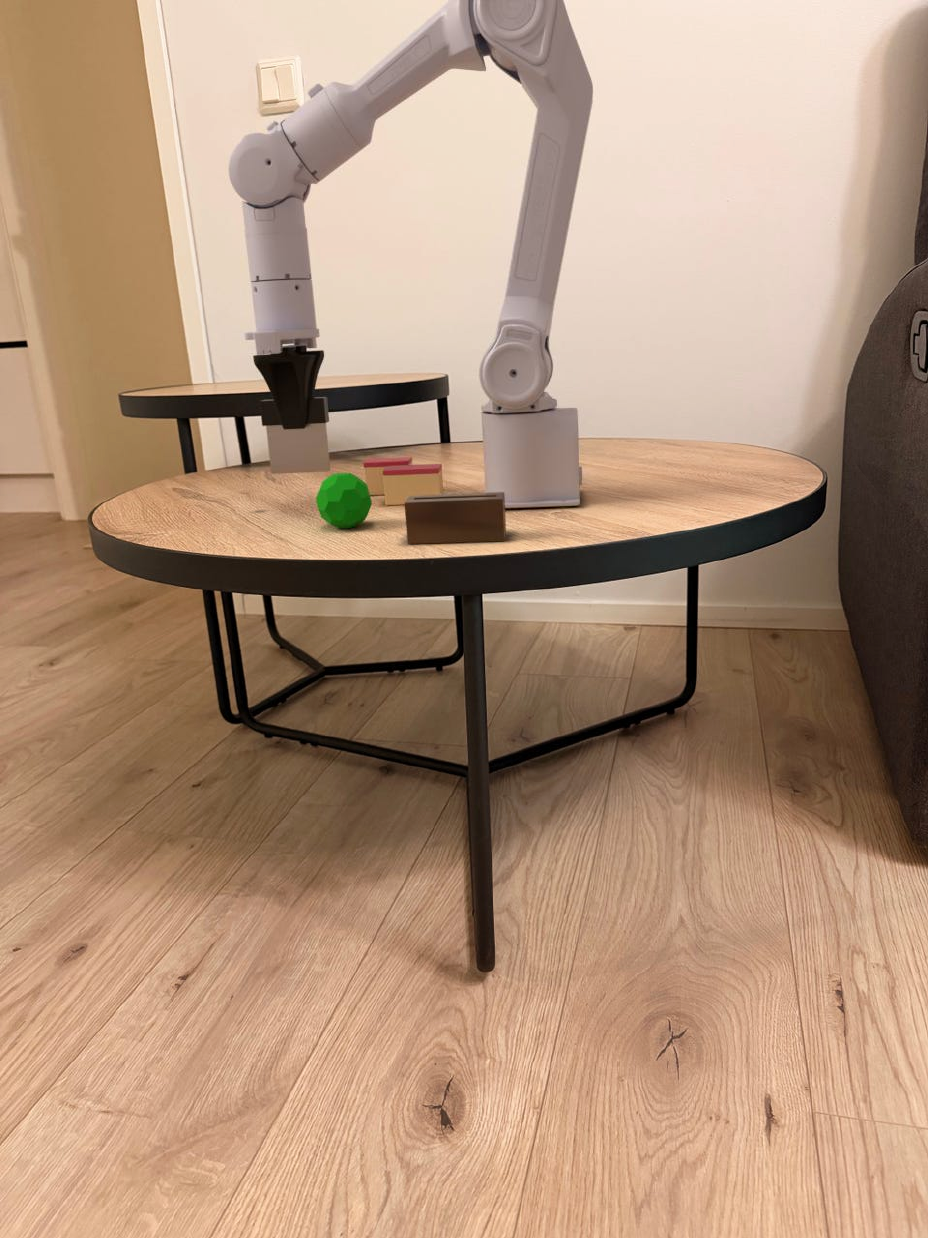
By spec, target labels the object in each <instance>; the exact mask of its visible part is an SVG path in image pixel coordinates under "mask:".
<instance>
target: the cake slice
mask: <svg viewBox="0 0 928 1238" xmlns="http://www.w3.org/2000/svg"><path fill="white" fill-rule="evenodd" d="M399 465H413V457H412V456H406V457H405V456H404V457H384V458H383V457H381V458H368V459H366V460H365V461H364V462H363V473H364V482H365V483H366V484H367V487H368V490H369V493H370V496H385V493H384V481H383V476H384V475H383V470H384V469H385V468H386V467H387V466H399Z"/></svg>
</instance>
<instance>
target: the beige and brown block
mask: <svg viewBox="0 0 928 1238" xmlns="http://www.w3.org/2000/svg"><path fill="white" fill-rule="evenodd" d="M328 403H329V402H328V397H327V396H316V397H314V398H307V420H306V427H305V428H304V429H286V430H284V429H283V427H282V424H281V421H280V419H279V416H278V413H277V410H276V406H275V403H274V401H273V399H263V400H259V410H260V418H261V426H262V427H265V430H266V437H267V438H266V439H267V447H268V457H269V463H270V464H269V466H270V473H271V474H272V475H278V474H301V473H302V474H303V473H304V474H305V473H326V472H327V473H329V472H331V461H330V451H329V441H328V429H327V428H328V427H327V423H329V422H330V415H329V405H328Z"/></svg>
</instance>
